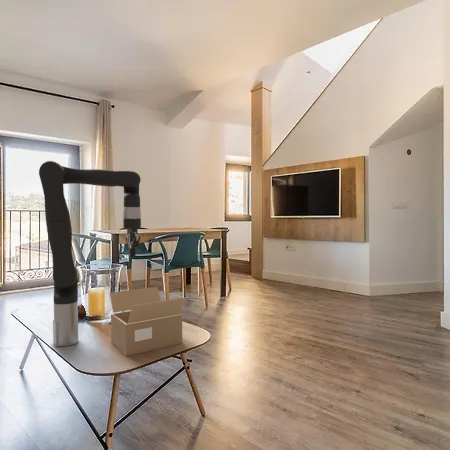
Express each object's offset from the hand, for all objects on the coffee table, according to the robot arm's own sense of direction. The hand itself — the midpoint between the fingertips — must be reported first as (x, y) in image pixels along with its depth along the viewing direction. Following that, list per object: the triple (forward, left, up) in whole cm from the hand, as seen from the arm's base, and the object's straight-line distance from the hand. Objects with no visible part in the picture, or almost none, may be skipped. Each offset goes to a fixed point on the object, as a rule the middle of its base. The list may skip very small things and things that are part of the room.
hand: (132, 257), depth 156 cm
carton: (+2, -12, -35) cm, 37 cm away
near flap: (+2, -23, -19) cm, 29 cm away
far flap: (+2, 0, -19) cm, 19 cm away
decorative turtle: (-10, +42, -35) cm, 56 cm away
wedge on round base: (+2, +22, -35) cm, 42 cm away
